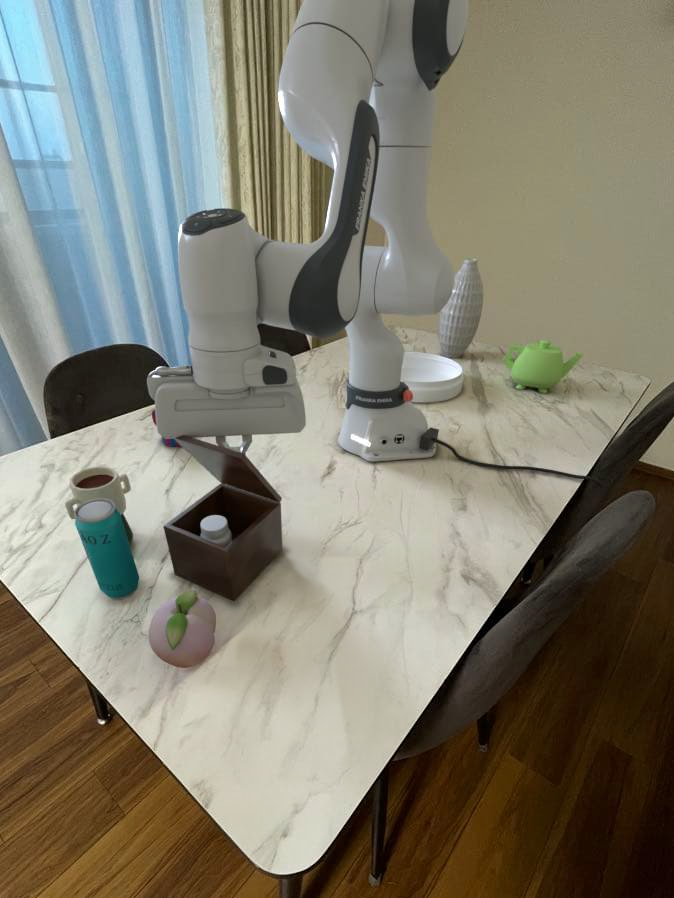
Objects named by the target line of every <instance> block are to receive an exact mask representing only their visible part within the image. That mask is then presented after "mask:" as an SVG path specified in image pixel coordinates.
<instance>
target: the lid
mask: <svg viewBox="0 0 674 898" xmlns="http://www.w3.org/2000/svg"><path fill="white" fill-rule="evenodd" d="M174 440H176V441H177V442H178V443H179V444H180V445H181V446H180V447H181V448H183V449H184V451H186V452H187V453H188V454H189V455H190V456H191V457H192V458H193V459H195V460H196V462H198V463H199V464H200V465H201V466H202V467H203V468H204V469H205V470H206V471H207V472H208V473H209V474H210V475H211V476H213V477H214V479H216V480H217V481H218V483H219V484H221V483H223V484H226V485H229V486H232V487H235V488H238V489H241V490H244V491H247V492H250V493H253V494H255V495H258V496H261V497H264V498H267V499H270V500H273V501H276V502H279V503H281V501H282V496H280V494H279V492H277V491H276V490H275V488H274V487H273V486H272V485H271V483H270V482H269V481H268V480H267V478H265V477H264V475H263V474H262V473H261V472H260V471H259V469H258V468H257V467H256V466H255V465H254V464H253V462H252V461H251V460H250V458H249V457H248V456H247V454H246V455H245V454H244V453H240V452H237V451H234V450H231V449H227V448H224V447H221V446H218V445H217V444H213V443H211V442H207V441H204V440H201V439H197V438H191V437H188V436H184V435H182V436H179V437H177V438H175V439H174Z"/></svg>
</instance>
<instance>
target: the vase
mask: <svg viewBox="0 0 674 898" xmlns="http://www.w3.org/2000/svg"><path fill="white" fill-rule="evenodd" d="M483 305H484V285H483V280H482V277H481V274H480V270H479V267H478V260H477V259H476V258H465V259H464V260H463V263H462V266H461V267H460V268H459V270H458V271H456V273H455V274H454V288H453V292H452V294H451V297H450V299H449V301H448V302H447V304H446V305H445V306H444V307H443V309H442V310H441V311H439V320H438V341H439V346H440V350H441V352H442V355H443V357H446V358H449V359H450V358H452V359H458V358H462V355H464V354H465V352H466V351H467V350H468V348H469V347H470V345H471V344H472V342H473V339H474V337H475V336H476V334H477V330H478V328H479V324H480V321H481V317H482V312H483Z"/></svg>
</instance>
